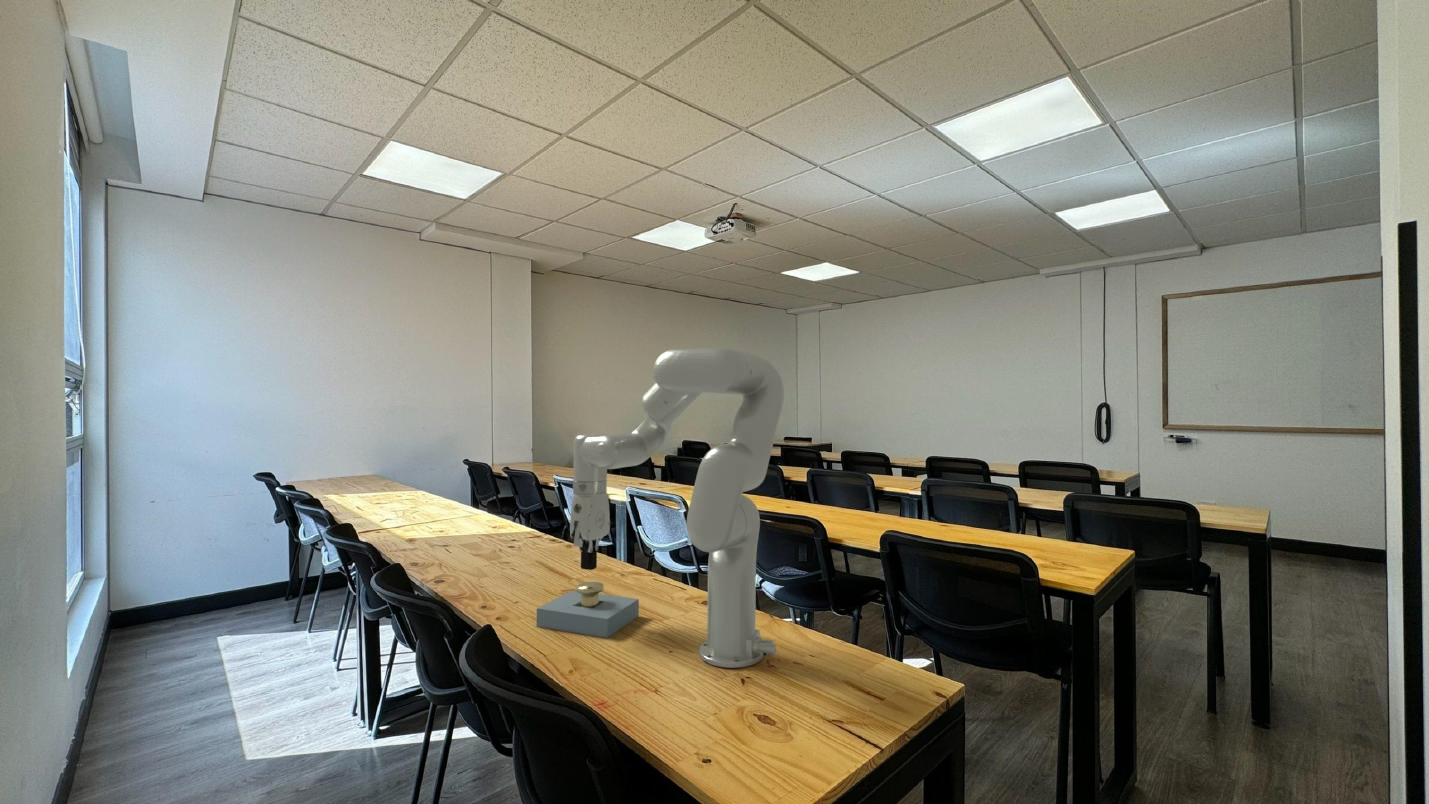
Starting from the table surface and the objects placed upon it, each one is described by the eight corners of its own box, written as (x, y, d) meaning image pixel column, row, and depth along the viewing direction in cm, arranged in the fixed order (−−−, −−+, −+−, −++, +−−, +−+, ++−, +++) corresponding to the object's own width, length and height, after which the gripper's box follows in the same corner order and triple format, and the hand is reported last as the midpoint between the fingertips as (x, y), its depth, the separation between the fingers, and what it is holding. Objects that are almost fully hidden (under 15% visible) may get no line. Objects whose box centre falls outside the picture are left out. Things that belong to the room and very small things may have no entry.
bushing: (607, 618, 133) (608, 583, 133) (593, 627, 127) (594, 590, 127) (585, 614, 135) (586, 580, 135) (570, 623, 129) (571, 587, 130)
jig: (638, 616, 134) (638, 598, 134) (607, 638, 121) (607, 619, 121) (573, 606, 141) (573, 590, 141) (536, 626, 128) (536, 608, 128)
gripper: (585, 493, 123) (584, 579, 123) (620, 485, 137) (619, 562, 137) (556, 491, 126) (554, 575, 126) (593, 483, 140) (592, 559, 140)
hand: (588, 568), depth 131 cm, fingers closed
